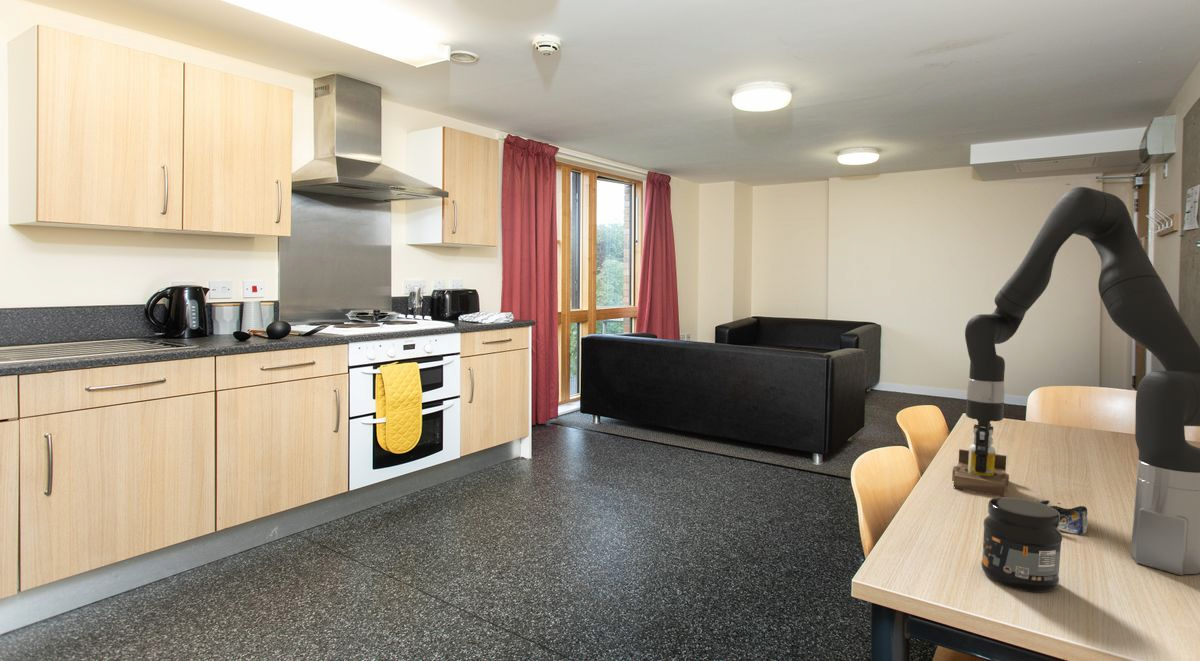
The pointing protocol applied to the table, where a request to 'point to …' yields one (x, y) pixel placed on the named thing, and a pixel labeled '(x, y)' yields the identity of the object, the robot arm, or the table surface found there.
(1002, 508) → the supplement container
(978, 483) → the brown bottle holder
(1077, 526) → the snack package
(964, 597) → the table surface
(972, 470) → the supplement bottle
